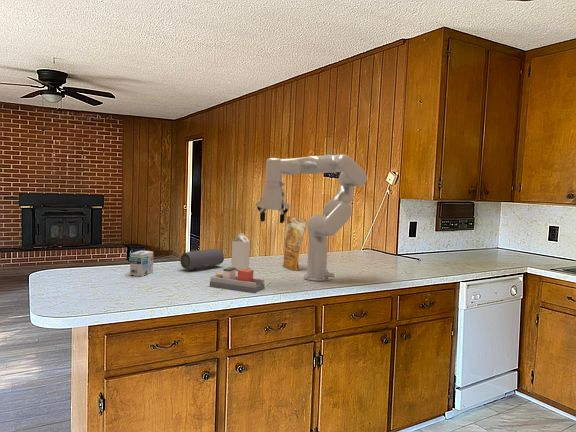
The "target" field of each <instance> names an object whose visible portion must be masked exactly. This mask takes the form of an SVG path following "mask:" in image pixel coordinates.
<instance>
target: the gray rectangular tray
mask: <svg viewBox="0 0 576 432" xmlns="http://www.w3.org/2000/svg"><path fill="white" fill-rule="evenodd" d="M209 278H210V279H209V287H211V288H212V287H213V288H219V289H224V290H225V289H226V290H231V291H239V292H245V293H253V294H255V293H256V292H257V293H258V292H259V291H261V290H263V289H265V287H266V286H265V285H266V284H265V279H262V278H255V277H253V282H247V281H239V280H238V275H236V277H235V280H232V279H225V278H223V272H216V273H215V275H213V276H211V277H209Z"/></svg>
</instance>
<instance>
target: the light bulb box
mask: <svg viewBox="0 0 576 432" xmlns="http://www.w3.org/2000/svg"><path fill="white" fill-rule="evenodd" d="M129 257H130V259H129V260H130V262H129V276H131V275H134V277H141V276H142V277H145V276H148V275H150V274H149V273H151V274H153V273H154V250H153V251H151V250H137V251H134V252H131V253H130V256H129ZM152 272H153V273H152ZM147 274H148V275H147ZM144 275H145V276H144Z"/></svg>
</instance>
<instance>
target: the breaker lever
mask: <svg viewBox="0 0 576 432" xmlns="http://www.w3.org/2000/svg"><path fill="white" fill-rule="evenodd" d="M236 272H237V271H236V268H234V267H231V266H229V267H226V268H223V272H222V274H223V278H225V279H232V280H235V277H236V276H237V275H236Z"/></svg>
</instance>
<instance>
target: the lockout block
mask: <svg viewBox="0 0 576 432" xmlns="http://www.w3.org/2000/svg"><path fill="white" fill-rule="evenodd" d="M237 276H238V280H239V281H247V282H253V278H254V269H241V270H237Z"/></svg>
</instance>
